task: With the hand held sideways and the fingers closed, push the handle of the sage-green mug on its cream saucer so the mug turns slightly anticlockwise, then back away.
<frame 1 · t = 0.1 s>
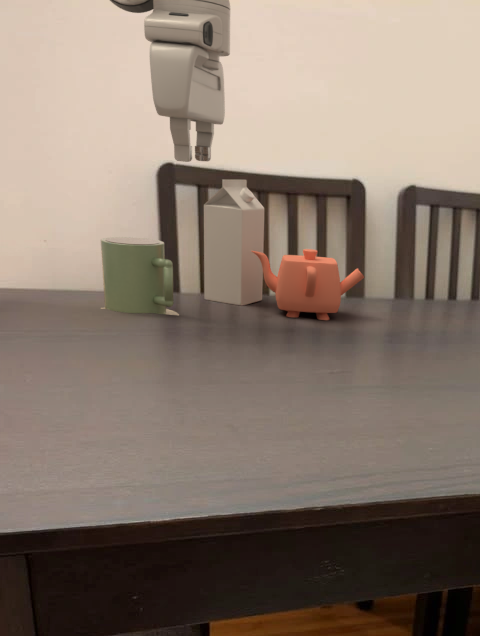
hand: (193, 161, 92), 22 cm above the table, tool pointing down, fingers open, 8 cm apart
mug: (137, 280, 102), point 6 cm above the table, hinge at 0.0°
teapot: (306, 315, 117), on the table
milk carton: (233, 302, 123), on the table
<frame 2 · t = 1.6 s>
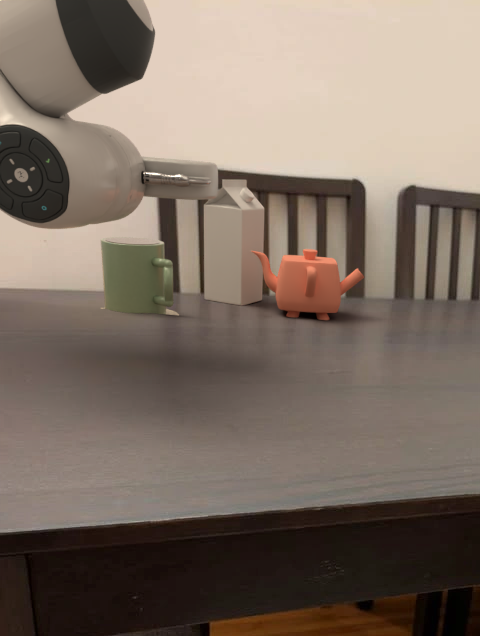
hand: (140, 173, 83), 20 cm above the table, tool horizontal, fingers open, 8 cm apart
nothing on the table moved.
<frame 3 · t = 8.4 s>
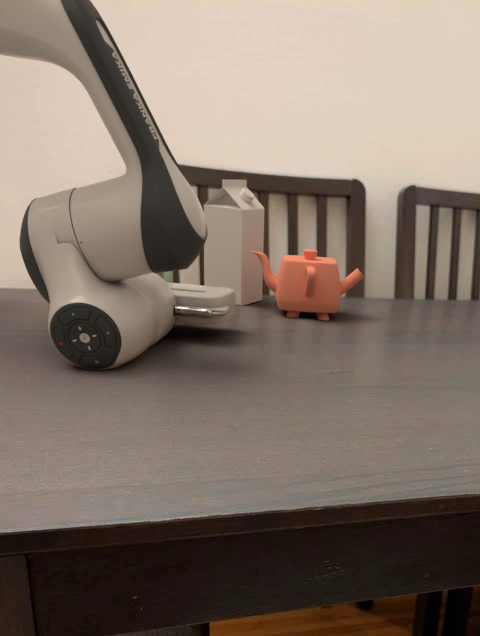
hand: (170, 288, 99), 5 cm above the table, tool horizontal, fingers closed
mug: (137, 280, 102), point 6 cm above the table, hinge at 0.0°, touching gripper
everything else where it was.
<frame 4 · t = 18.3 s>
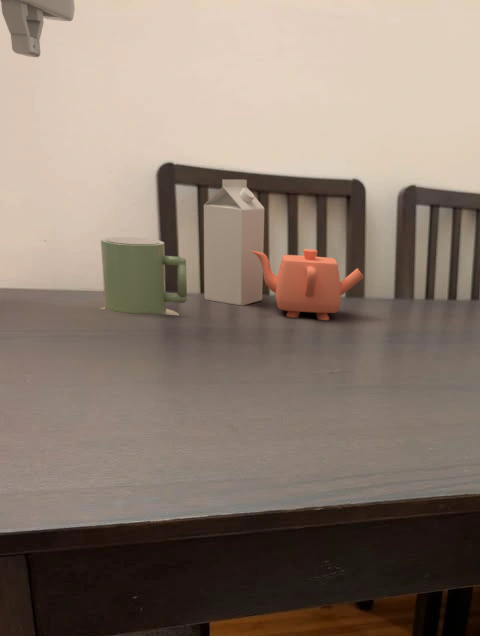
hand: (26, 55, 79), 31 cm above the table, tool pointing down, fingers closed
mug: (139, 280, 103), point 6 cm above the table, hinge at 32.3°
everything else where it was.
at the end: mug at +32° (first picture: +0°) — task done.
